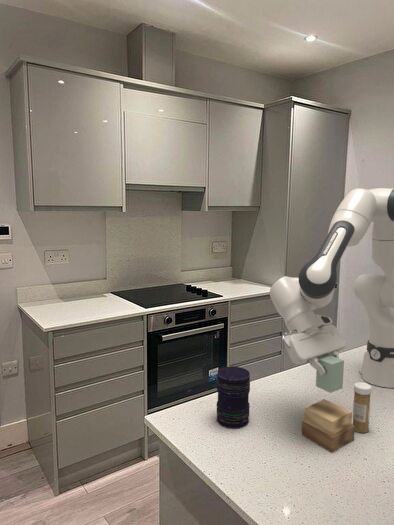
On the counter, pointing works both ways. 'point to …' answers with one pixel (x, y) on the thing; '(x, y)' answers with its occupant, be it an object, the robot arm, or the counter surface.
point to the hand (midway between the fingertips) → (331, 371)
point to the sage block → (330, 374)
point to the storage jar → (233, 397)
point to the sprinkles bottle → (361, 407)
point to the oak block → (327, 417)
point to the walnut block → (328, 437)
